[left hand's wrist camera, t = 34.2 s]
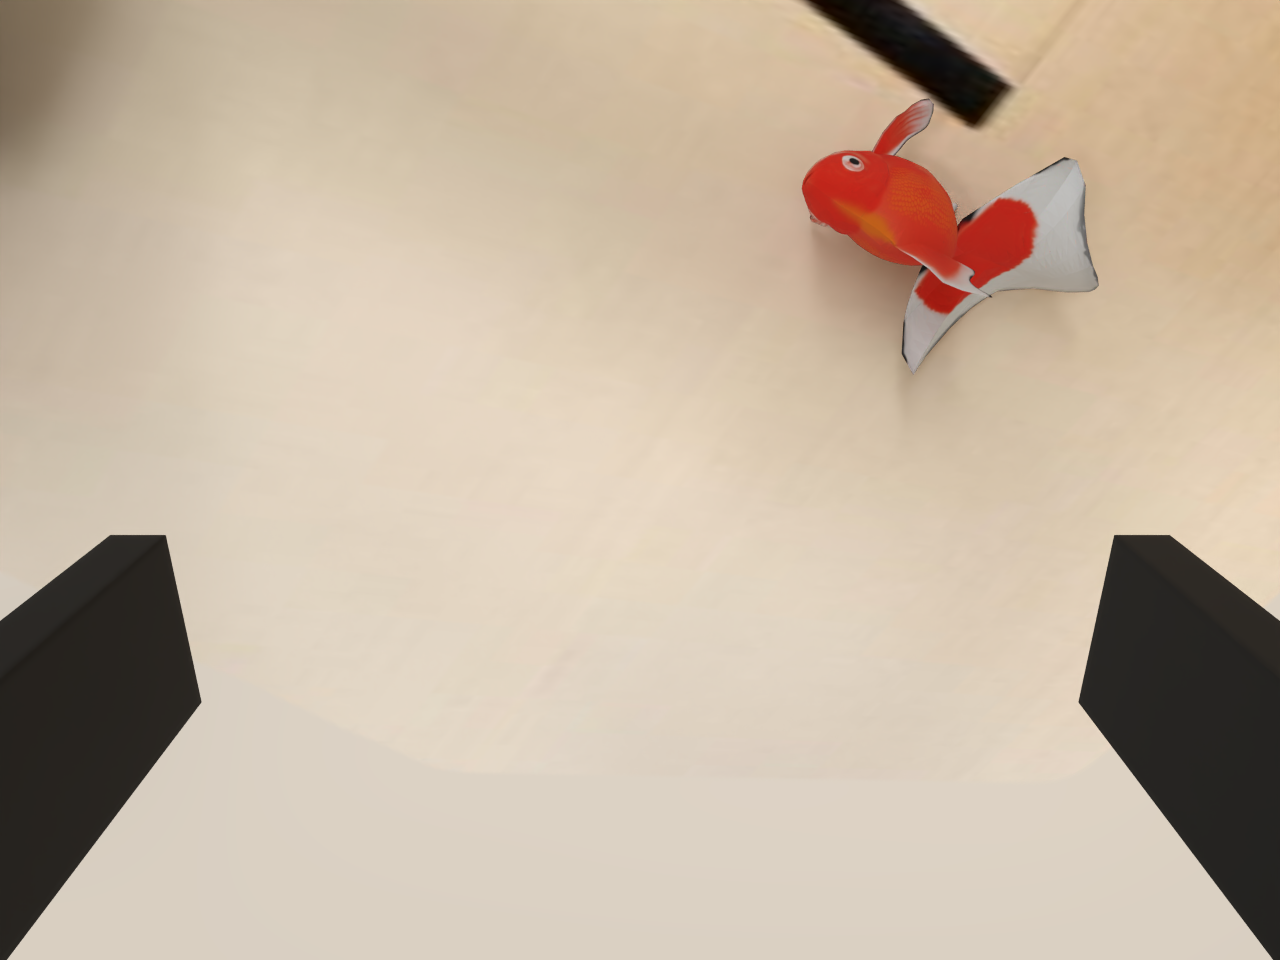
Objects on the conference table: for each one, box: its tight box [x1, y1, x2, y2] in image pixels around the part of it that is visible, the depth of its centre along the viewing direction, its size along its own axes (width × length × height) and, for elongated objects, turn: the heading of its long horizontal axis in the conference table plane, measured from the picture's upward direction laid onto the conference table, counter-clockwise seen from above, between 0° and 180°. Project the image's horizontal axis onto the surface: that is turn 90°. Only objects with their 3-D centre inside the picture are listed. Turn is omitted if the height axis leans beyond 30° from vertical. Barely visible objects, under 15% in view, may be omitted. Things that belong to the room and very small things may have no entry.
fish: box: [802, 99, 1099, 375], centre depth 42 cm, size 11×16×10 cm
